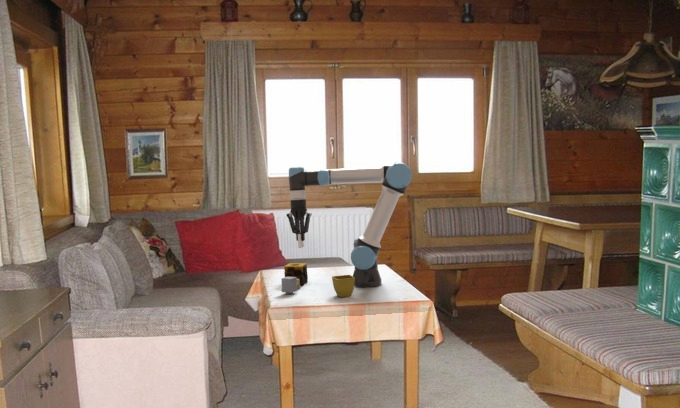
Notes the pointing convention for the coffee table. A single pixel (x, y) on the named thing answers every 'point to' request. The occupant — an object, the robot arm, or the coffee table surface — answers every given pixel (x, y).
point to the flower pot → (343, 285)
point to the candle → (297, 272)
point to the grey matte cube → (289, 284)
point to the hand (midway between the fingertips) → (301, 247)
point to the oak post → (298, 284)
